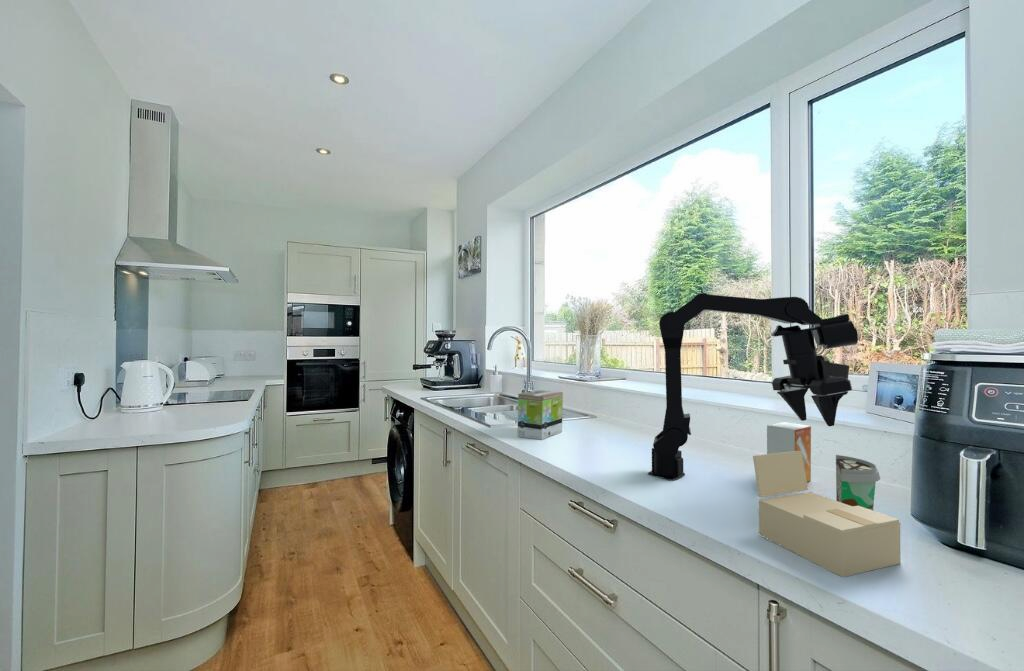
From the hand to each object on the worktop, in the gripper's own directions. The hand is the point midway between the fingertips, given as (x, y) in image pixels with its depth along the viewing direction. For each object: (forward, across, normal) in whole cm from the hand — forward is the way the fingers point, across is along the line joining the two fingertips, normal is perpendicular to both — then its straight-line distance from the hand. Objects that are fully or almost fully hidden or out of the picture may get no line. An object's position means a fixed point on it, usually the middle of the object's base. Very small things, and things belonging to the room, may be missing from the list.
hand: (816, 423), depth 98 cm
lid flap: (+3, -20, +19) cm, 28 cm away
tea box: (+1, +56, +60) cm, 82 cm away
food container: (+15, -14, +4) cm, 21 cm away
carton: (+13, -26, +19) cm, 35 cm away
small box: (+14, +8, +5) cm, 17 cm away
